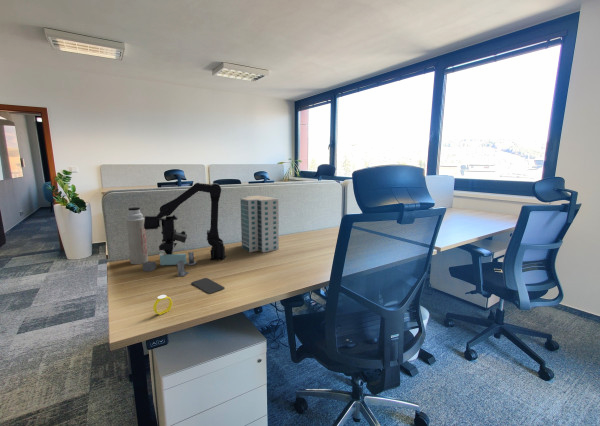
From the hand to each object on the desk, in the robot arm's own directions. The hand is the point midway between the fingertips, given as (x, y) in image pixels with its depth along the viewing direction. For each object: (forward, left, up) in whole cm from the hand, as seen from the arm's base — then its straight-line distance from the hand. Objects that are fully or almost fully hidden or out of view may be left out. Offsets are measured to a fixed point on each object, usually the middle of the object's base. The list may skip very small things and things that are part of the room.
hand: (170, 258), depth 145 cm
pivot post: (-12, +1, -2) cm, 12 cm away
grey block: (-14, +15, -2) cm, 20 cm away
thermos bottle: (+16, +1, -2) cm, 17 cm away
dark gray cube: (+4, +11, -2) cm, 12 cm away
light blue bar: (-3, +3, -2) cm, 5 cm away
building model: (-38, -31, -2) cm, 49 cm away
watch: (-25, +47, -2) cm, 53 cm away
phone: (-31, +25, -3) cm, 40 cm away
